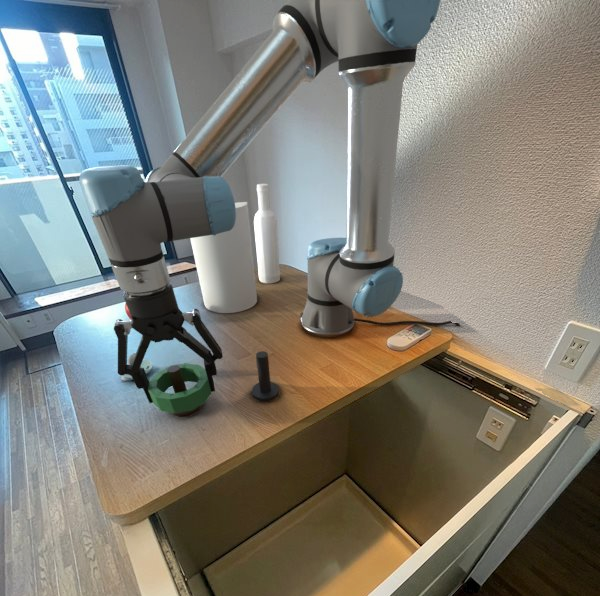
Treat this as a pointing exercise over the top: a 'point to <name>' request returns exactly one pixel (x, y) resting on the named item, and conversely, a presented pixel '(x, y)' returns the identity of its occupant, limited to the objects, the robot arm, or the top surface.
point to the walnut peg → (179, 387)
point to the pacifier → (144, 364)
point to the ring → (182, 399)
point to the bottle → (266, 238)
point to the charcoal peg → (264, 380)
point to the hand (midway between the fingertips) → (182, 393)
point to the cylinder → (227, 266)
